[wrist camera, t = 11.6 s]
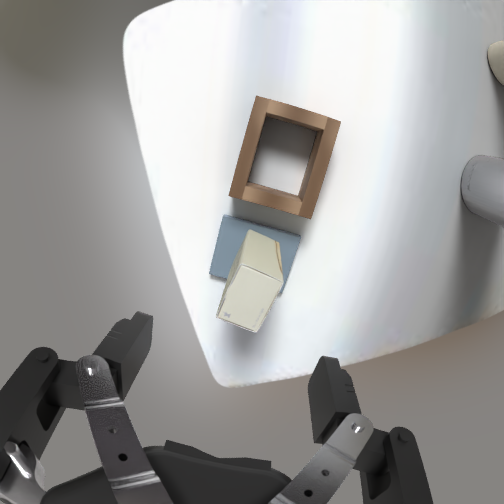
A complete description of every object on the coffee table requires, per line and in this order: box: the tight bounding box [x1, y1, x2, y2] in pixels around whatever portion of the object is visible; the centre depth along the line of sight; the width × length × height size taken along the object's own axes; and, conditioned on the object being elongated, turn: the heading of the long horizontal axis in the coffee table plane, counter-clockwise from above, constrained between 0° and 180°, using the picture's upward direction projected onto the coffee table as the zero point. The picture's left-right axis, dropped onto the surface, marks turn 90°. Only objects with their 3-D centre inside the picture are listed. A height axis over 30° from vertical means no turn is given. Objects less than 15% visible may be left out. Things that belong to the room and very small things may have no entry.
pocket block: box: [229, 96, 341, 219], centre depth 33 cm, size 9×11×4 cm
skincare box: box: [216, 229, 284, 333], centre depth 33 cm, size 6×4×12 cm
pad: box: [209, 215, 301, 293], centre depth 39 cm, size 10×8×1 cm
